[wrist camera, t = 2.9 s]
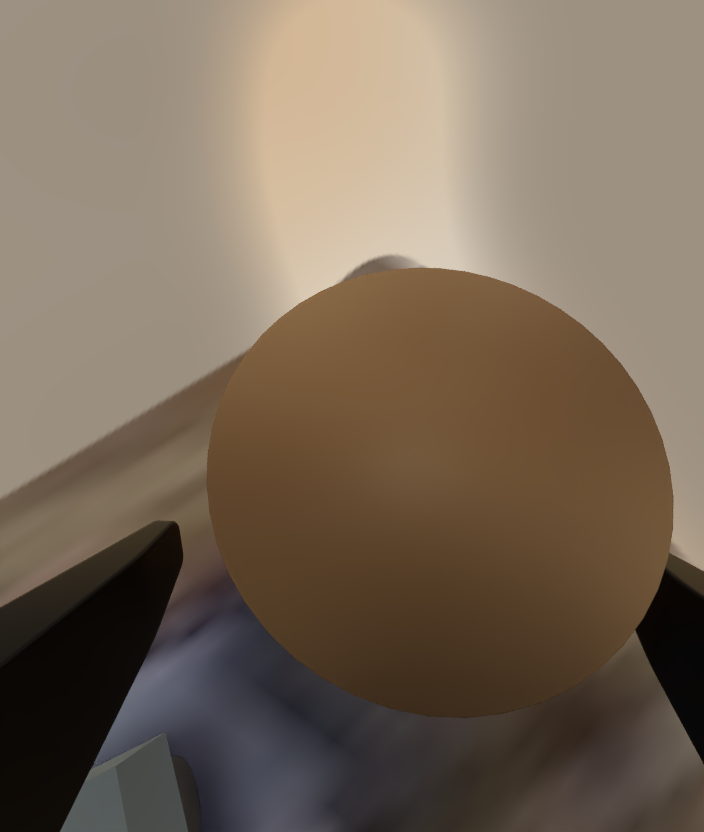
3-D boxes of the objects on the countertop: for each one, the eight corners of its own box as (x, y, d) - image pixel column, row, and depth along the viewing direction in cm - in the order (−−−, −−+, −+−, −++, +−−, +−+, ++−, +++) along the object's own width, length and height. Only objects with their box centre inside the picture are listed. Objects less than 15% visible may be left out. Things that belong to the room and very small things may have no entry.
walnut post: (467, 590, 16) (783, 566, 4) (346, 652, 15) (309, 838, 3) (407, 473, 18) (507, 222, 6) (296, 523, 17) (156, 349, 5)
